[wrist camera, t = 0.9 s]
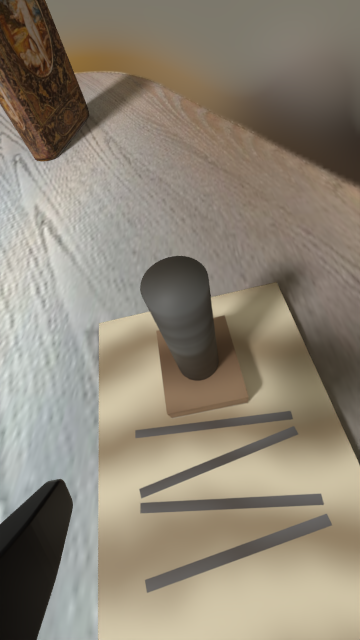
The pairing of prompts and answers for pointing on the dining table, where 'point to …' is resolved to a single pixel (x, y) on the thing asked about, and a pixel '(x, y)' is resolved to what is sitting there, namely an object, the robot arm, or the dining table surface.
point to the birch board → (225, 492)
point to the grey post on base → (191, 340)
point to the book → (38, 79)
